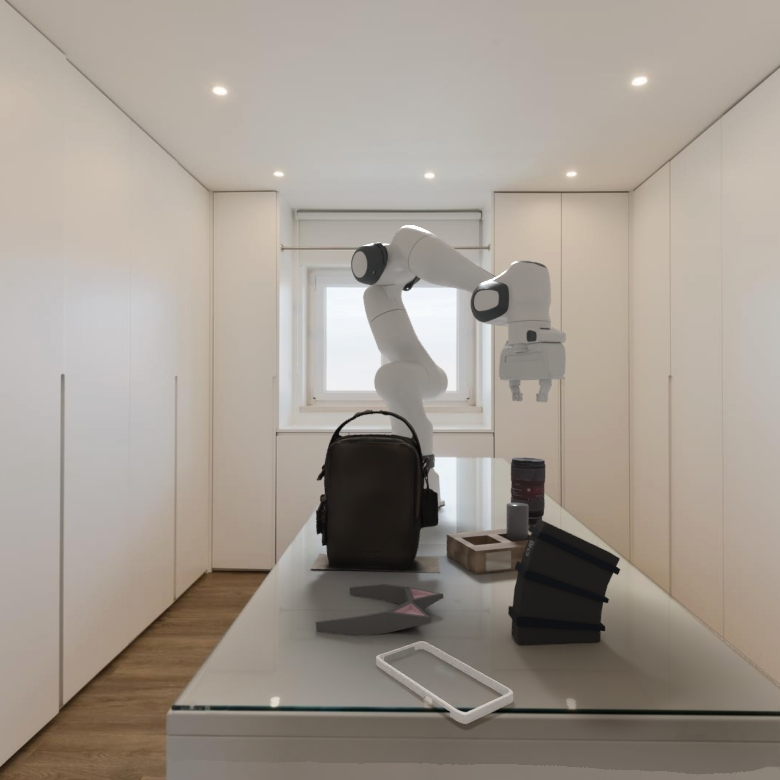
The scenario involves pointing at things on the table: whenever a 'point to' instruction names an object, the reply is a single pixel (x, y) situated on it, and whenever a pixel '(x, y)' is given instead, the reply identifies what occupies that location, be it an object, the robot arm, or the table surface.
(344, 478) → the shoulder bag
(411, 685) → the phone case
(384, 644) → the table surface
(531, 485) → the camera lens
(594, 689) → the table surface
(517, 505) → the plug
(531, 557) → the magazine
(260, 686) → the table surface
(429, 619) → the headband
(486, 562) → the socket block
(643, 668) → the table surface
